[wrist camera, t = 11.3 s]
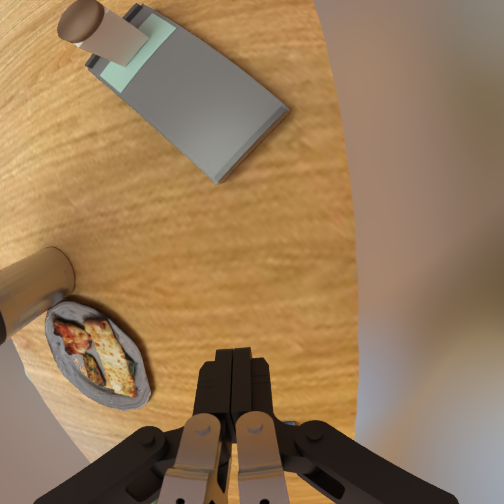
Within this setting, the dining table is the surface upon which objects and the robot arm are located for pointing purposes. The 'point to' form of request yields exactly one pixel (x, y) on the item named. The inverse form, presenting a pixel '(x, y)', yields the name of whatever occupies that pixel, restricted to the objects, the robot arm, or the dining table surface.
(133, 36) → the brown piece
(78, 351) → the food plate
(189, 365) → the dining table surface
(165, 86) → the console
